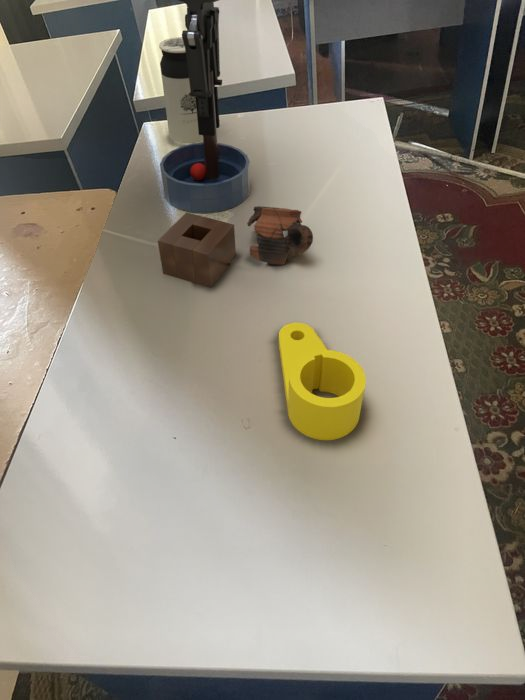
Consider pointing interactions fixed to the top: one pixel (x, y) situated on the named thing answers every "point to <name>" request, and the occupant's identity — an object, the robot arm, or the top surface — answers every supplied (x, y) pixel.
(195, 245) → the holder
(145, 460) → the top surface
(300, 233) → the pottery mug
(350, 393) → the crank
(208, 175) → the stick
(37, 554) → the top surface
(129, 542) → the top surface
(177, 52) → the travel mug
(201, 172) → the ball
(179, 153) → the bowl
